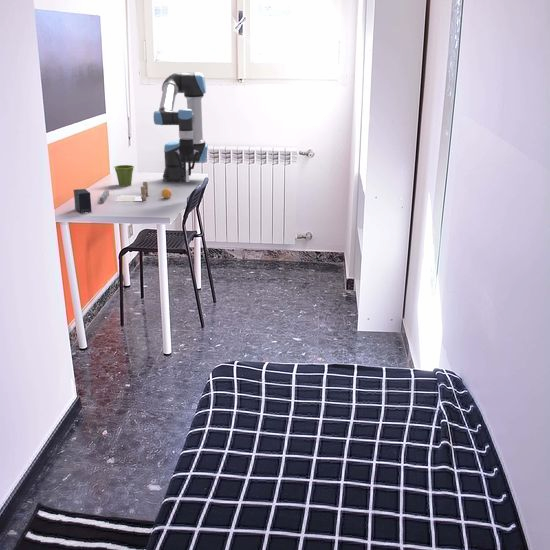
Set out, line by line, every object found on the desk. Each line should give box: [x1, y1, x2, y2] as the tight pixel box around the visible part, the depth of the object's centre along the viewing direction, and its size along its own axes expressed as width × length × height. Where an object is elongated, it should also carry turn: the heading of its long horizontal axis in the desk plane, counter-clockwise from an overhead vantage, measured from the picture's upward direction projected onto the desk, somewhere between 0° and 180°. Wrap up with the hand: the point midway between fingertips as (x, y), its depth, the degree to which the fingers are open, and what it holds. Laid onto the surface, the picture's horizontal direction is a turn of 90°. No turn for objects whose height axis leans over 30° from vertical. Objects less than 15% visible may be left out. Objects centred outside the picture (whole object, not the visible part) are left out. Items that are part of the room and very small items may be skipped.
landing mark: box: [115, 194, 138, 203], centre depth 370 cm, size 14×14×1 cm
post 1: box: [142, 181, 149, 197], centre depth 375 cm, size 2×2×8 cm
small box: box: [73, 188, 92, 214], centre depth 343 cm, size 11×6×10 cm, turn 29°
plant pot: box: [113, 164, 135, 187], centre depth 400 cm, size 12×12×11 cm
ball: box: [161, 188, 172, 199], centre depth 371 cm, size 6×6×6 cm
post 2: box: [140, 185, 147, 202], centre depth 363 cm, size 2×2×8 cm
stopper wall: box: [99, 189, 110, 204], centre depth 368 cm, size 20×2×3 cm, turn 5°
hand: (187, 181), depth 369 cm, fingers closed
